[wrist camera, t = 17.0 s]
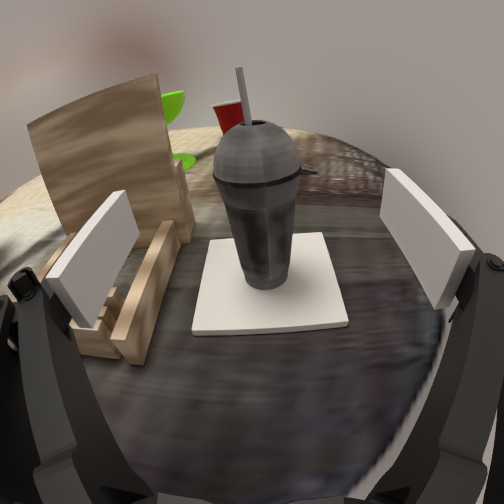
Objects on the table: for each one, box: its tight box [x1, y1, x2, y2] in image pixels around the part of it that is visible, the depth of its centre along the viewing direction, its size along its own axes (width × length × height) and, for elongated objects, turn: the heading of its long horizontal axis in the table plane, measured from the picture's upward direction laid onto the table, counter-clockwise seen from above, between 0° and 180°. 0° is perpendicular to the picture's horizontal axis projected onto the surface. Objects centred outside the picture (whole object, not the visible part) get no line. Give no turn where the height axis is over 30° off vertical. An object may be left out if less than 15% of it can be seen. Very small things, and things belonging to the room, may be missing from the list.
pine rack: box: [27, 74, 195, 365], centre depth 25 cm, size 24×20×22 cm
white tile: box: [192, 232, 348, 336], centre depth 29 cm, size 14×14×1 cm
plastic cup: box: [211, 99, 245, 135], centre depth 76 cm, size 11×11×12 cm
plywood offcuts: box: [69, 287, 124, 359], centre depth 24 cm, size 5×12×4 cm, turn 89°
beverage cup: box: [213, 67, 302, 290], centre depth 23 cm, size 7×7×20 cm
